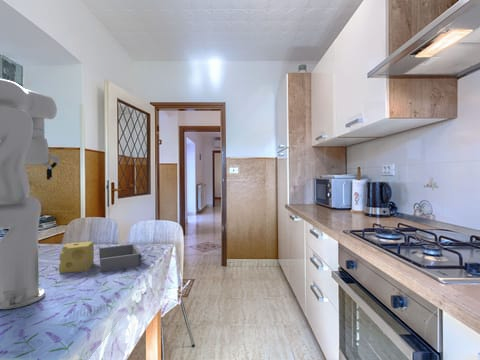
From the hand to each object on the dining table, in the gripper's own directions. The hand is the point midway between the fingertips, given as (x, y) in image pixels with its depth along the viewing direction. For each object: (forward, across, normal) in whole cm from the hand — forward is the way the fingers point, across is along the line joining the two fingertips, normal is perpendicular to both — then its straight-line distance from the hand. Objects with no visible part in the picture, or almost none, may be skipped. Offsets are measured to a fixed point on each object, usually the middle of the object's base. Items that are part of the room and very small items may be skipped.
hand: (33, 179), depth 103 cm
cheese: (+37, +14, +2) cm, 40 cm away
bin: (+36, +29, +2) cm, 47 cm away
